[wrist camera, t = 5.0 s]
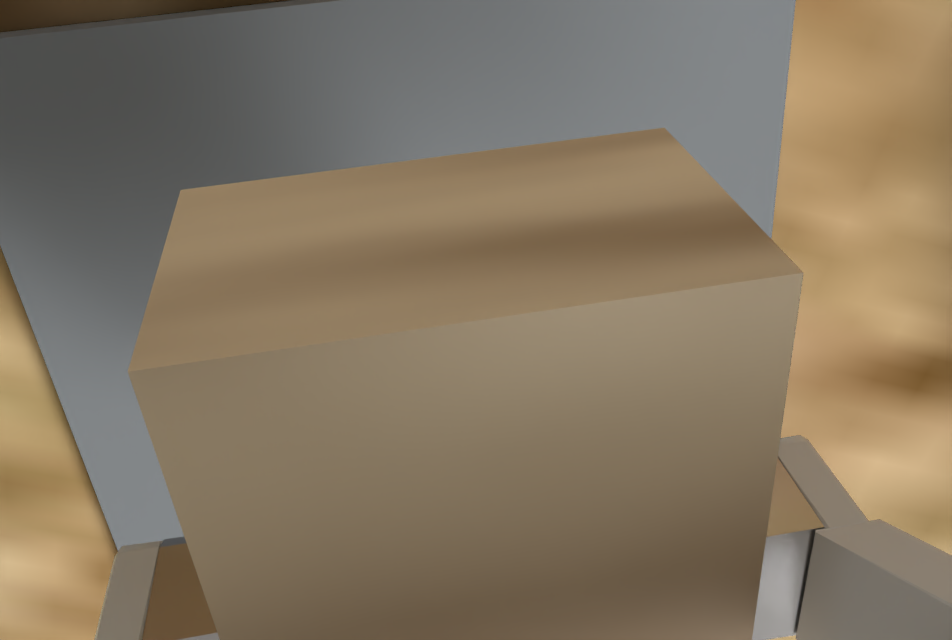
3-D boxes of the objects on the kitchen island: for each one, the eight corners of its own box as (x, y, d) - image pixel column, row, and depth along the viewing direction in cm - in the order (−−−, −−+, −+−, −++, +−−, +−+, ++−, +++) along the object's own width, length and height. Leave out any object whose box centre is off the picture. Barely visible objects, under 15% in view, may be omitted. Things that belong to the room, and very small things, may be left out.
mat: (-67, 39, 16) (-79, 47, 16) (788, -55, 18) (803, -50, 17) (219, 794, 28) (217, 813, 27) (716, 700, 29) (724, 716, 29)
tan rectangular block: (179, 189, 10) (125, 383, 7) (664, 127, 10) (812, 282, 7) (317, 696, 15) (319, 941, 12) (643, 636, 15) (727, 856, 12)
